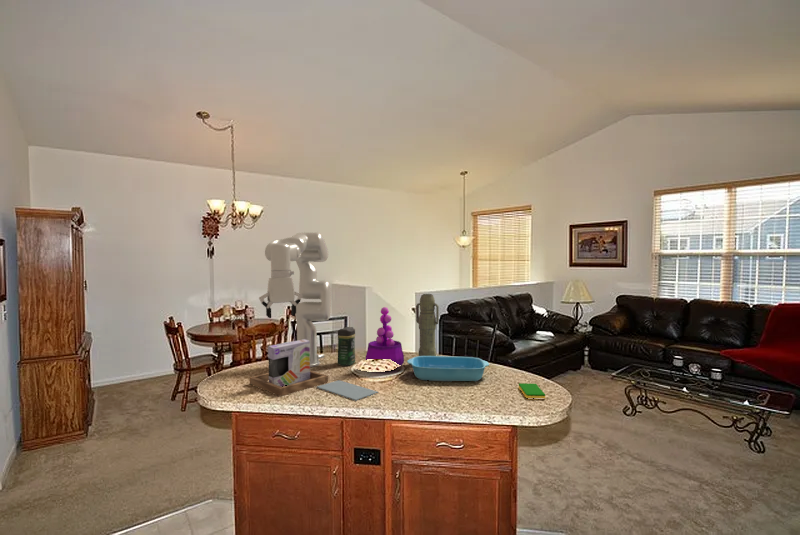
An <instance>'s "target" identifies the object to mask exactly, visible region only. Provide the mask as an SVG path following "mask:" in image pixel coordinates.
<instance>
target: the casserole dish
mask: <svg viewBox="0 0 800 535" xmlns="http://www.w3.org/2000/svg"><path fill="white" fill-rule="evenodd" d="M406 363H407V364H409V365H411V368H412V371H413V373H414V376H415V377H416V378H417V379H418V380H421V381H427V380H429V381H430V382H431V381H432V382H452V381H475V382H478V381H479V380H481V379H482V378H483V376H484V373H485V369H486V367H489V365H490V363H489V362H488V361H486V360H483V359H482V358H479V357H473V356H451V355H450V356H449V355H448V356H446V355H445V356H443V355H436V356H419V355H418V356H414V357H411V358H409V359H408V360H407V361H406Z"/></svg>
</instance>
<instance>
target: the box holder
mask: <svg viewBox="0 0 800 535" xmlns="http://www.w3.org/2000/svg"><path fill="white" fill-rule="evenodd" d="M268 380H269V372H267V373H262V374H257V375H254V376H250V377H249V385H250V384H252V385H251V386H253V385H254V386H253V387H255V386H257V387H256V388H258V387H259V388H258V389H260V388H262V389H261V390H263V389H264V390H263V391H265V390H267V391H266V392H268V391H269V392H268V393H271V394H273V393H274V394H273V395H276V396H278V397H284V396H287V395H291V394H293V393H297V391H298V392H301V391H304V389H305V390H307V388H308V389H311V388H315V387H317V385H318V386H320V385H321V384H322V385H324V383H325V384H327V382H328V383H329V375H328V374H324V373H320V372H316V371H314V370H310V379H308V380H304V381H301V382H297V383H294V384H290V385H287V386H283V387H280V386H278V385H275V384H272V383H269V381H268ZM314 386H315V387H314ZM300 390H301V391H300Z"/></svg>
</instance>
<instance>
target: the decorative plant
mask: <svg viewBox="0 0 800 535" xmlns="http://www.w3.org/2000/svg"><path fill="white" fill-rule="evenodd" d="M389 312H390V310H389V308H388V307H385V306H384V307H381V309H380V313H381V316H380V318H379V321H380V323H381V324H382V327H379V328H378V329H377V331H376V335H377V337H376V338H375V340H372V341H370V342H368V344H367V351H366V355H365V360H367V359H391V360H392V361H394V362H396V363H397V364H399V365H401V366H402V365H403V364H404V363H405V355H404V351H403V347H402V342H400V341H399V340H394V339H393V337H394V335H395V334H394V331H393V329H392V326H391V325H389V323H391V321H392V317H391V315H389Z"/></svg>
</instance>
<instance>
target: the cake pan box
mask: <svg viewBox="0 0 800 535" xmlns="http://www.w3.org/2000/svg"><path fill="white" fill-rule="evenodd" d="M267 358H268V373H269V381H268V382H269V383H272V384H275V385H278V386H280V387H282V386H283V387H284V386H285V385H291V384H295V383H298V382H302V381H306V380H310V371H311V367H310V341H308V340H305V339H303V340H298V341H297V340H293V341H287V342H282V343H277V344H272V345H268V346H267Z"/></svg>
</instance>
